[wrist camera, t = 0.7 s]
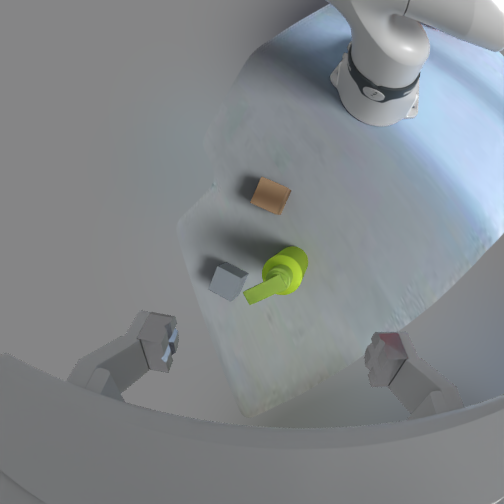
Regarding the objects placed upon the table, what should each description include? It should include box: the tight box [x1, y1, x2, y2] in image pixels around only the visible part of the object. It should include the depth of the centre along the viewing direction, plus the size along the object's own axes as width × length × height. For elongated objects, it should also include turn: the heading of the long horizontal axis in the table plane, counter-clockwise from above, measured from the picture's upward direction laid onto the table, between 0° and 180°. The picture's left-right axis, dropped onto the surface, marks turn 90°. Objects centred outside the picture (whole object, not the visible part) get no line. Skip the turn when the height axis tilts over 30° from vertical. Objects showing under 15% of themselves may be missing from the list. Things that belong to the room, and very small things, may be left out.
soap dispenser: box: [243, 246, 308, 305], centre depth 43 cm, size 6×7×20 cm
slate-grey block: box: [208, 262, 249, 301], centre depth 54 cm, size 5×5×5 cm
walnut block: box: [250, 177, 291, 215], centre depth 50 cm, size 5×5×5 cm
